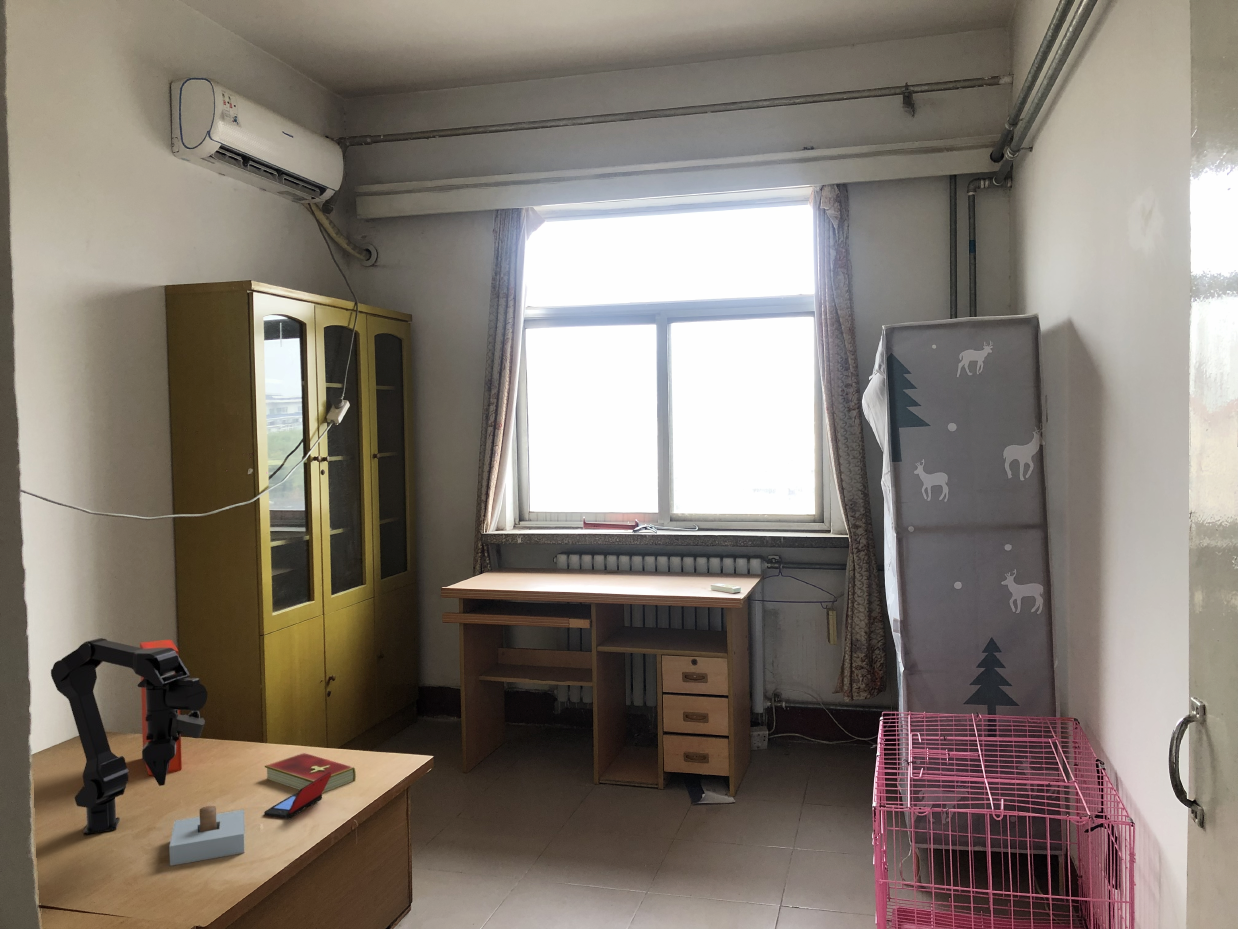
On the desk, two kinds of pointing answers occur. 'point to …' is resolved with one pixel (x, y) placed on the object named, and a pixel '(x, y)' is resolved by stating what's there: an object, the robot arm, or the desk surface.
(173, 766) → the file binder
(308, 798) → the handheld game console
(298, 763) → the hardcover book
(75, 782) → the desk surface
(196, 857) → the socket block
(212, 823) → the peg
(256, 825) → the desk surface
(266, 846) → the desk surface
